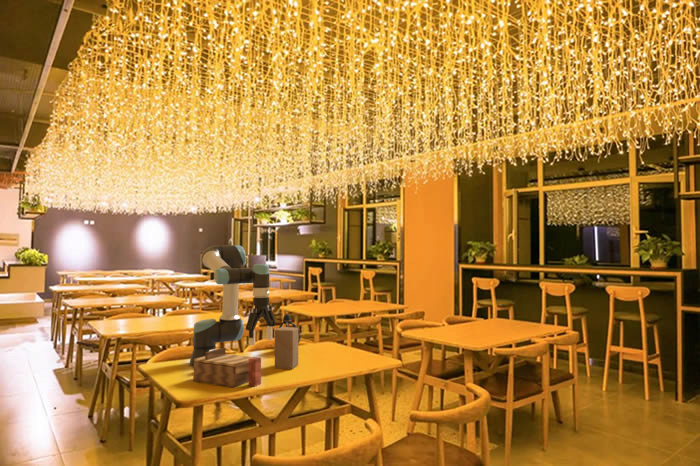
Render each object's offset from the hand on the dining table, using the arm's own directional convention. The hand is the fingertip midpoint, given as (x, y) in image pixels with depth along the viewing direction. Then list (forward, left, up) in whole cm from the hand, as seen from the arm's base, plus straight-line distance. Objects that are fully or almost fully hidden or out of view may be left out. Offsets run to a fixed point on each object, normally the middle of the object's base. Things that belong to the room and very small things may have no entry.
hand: (261, 342), depth 212 cm
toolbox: (-18, -4, -18) cm, 26 cm away
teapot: (-30, +63, -19) cm, 72 cm away
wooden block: (-6, +30, -19) cm, 35 cm away
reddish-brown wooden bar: (0, -4, -18) cm, 19 cm away
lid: (-17, -4, -13) cm, 22 cm away
